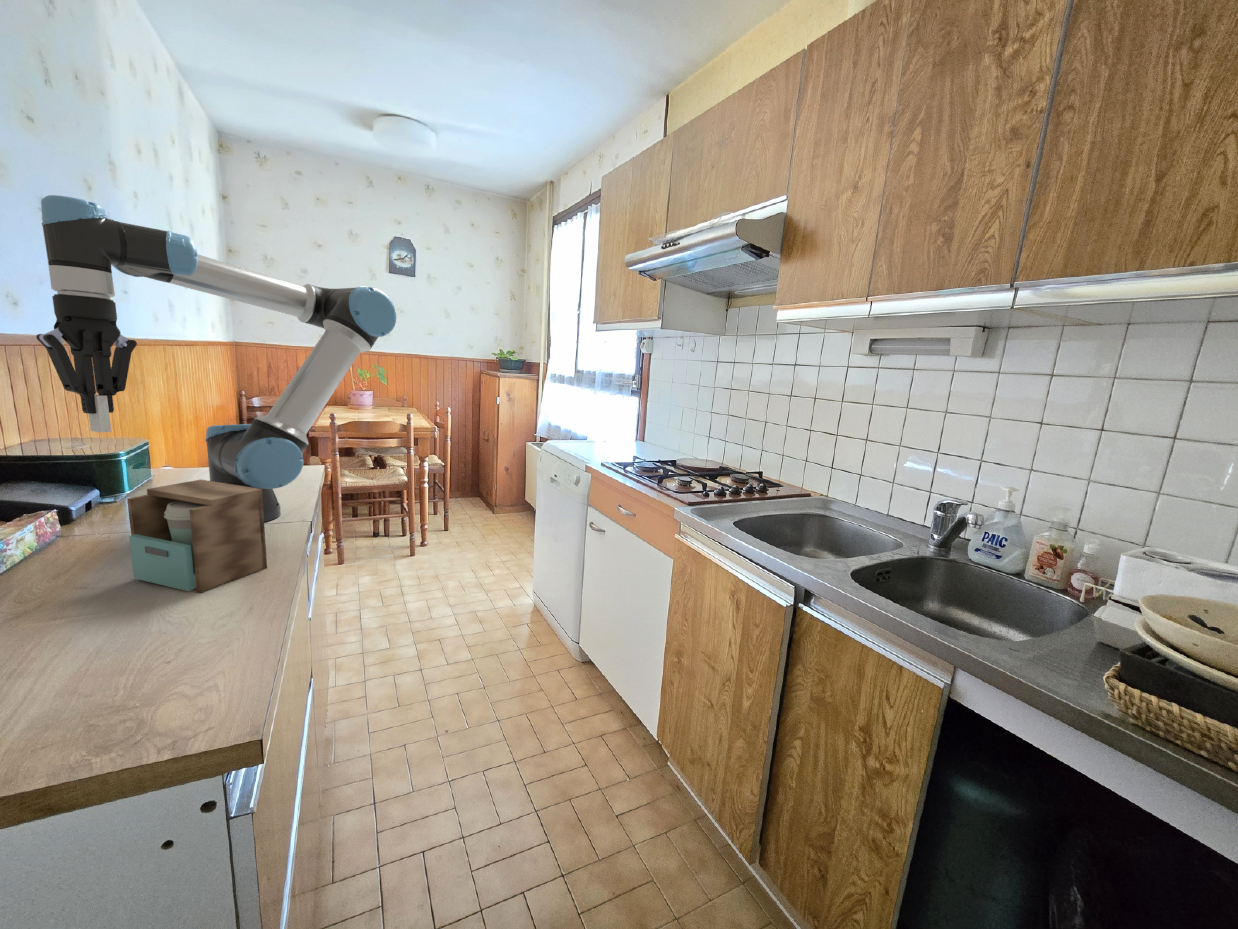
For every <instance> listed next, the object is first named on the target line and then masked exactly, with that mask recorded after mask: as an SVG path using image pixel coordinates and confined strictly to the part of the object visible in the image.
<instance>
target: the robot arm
mask: <svg viewBox="0 0 1238 929" xmlns="http://www.w3.org/2000/svg"><path fill="white" fill-rule="evenodd" d="M40 202H41V203H40V205H41V219H42V222H41V226H42V231H43V237H44V239H43V240H44V245H45V250H46V258H47V265H48V271H49V278H50V280H49V281H50V287H51V289H52V290H53V291H54V292H57V293H56V294H53V295H52V304H53V305H52V306H53V312H54V315H55V317H56V321H55V323H54V325H53V329H52V330H51V331H48V332H46V333H38V334H37V335H36V336H35V338H36V340H38V342H39V343H40V344H41V345H42V346H43V347H44V348H45V349H46V352H47V353H48V355H49V358H50V361H51V362H52V364H53V367H54V369H55V371H56V373H57V376H58V378H59V380H60V382H61V384H62V385H61V386H62V387H63V390H64V391H67V392H72V393H76V394H77V395H79V397H80V403H81V409H82V410H81V411H82V412H83V413H84V414H88V421H89V427H90V428H89V430H90V432H96V433H110V432H112V427H111V417H110V413H111V414H112V413H114V410H115V409H114V408H115V407H114V400H113V399H114V398H113V396H116V395H117V393H119V392H124V391H125V390H126V387H127V386H126V385H127V381H128V375H129V371H130V370H129V368H130V363H131V359H132V358H131V356H132V352H133V351H134V350H135V349H136V346H137V345H138V343H137V341H136V340H135V339H129V338H127V337H125V336H124V335H122V334H121V330H120V329H119V328H118V325H117V320H118V315H117V305H116V302H115V301H114V300H113V299H111V298H114V297H115V285H114V281H113V271H112V267H113V268H114V269H115V270H117V271H119V272H120V273H122V274H124V275H127V276H131V277H135V278H146V279H150V280H151V279H152V280H154V281H155V280H156V281H158V282H163V283H168V284H171V285H175V286H178V287H179V286H180V287H182V288H187V289H189V290H190V289H191V290H194V291H199V292H202V293H205V294H209V295H213V296H217V297H221V298H225V299H228V300H233V301H236V302H239V303H244V304H247V305H252V306H255V307H259V308H263V309H267V310H270V311H274V312H277V313H281V314H286V315H288V316H289V315H290V316H293V317H296V318H297V320H299V322H301V323H304V324H308V325H312V326H313V327H314V326H315V327H318V328H321V329H324V333H323V334H322V335H321V337H320V338H319V340H318V341H317V343H316V344H315V345H314V346H313V348H312V350H311V351H310V353H309V354H308V356H307V357H306V358H305V360H304V361H303V363H302V364H301V366H300V367H299V369H297V371H296V372H295V374H294V376H293V377H292V378H291V380H290V382H289V383H288V384H287V386H286V387H285V388H284V390H283V392H282V393H281V394H280V396H279V397H278V398H277V400H276V402H275V403H274V404H273V405H272V406H271V409H270V410H269V412H268V413H267V414H266V415H262V416H258V417H255V418H254V419H253V420H252V422H251V423H244V424H243V423H242V424H241V423H239V424H221V425H219V424H218V425H216V424H215V425H210V426H208V427H207V428H206V430H205V431H206V435H205V436H206V437H205V443H206V450H207V460H208V472H209V473H208V474H209V481H214V482H220V483H226V484H233V485H239V486H246V487H252V488H258V489H262V497H263V513H264V523H266V522H270V521H273V520H275V519H277V518H279V517H281V514H282V513H281V505H280V502H279V501H278V498H277V496H276V493H275V492H274V489H278V488H279V489H280V488H282V487H283V488H284V487H286V486H287V485H289V484H291V483H292V482H294V481H295V480H296V479H297V478H298V476H299V475H300V474H301V472H302V470H303V467H304V456H303V453H304V452H305V451H306V449H307V447H308V446H309V440H308V437H307V434H308V432H309V431H310V430H311V428H312V427H313V424H315V421H316V420H317V418H318V417H319V416H320V414H321V413H322V411H323V410H324V408H325V406H326V405H327V403H328V402H329V400H330V399H331V397H332V395H333V394H334V393H335V391H336V390H337V389H338V387H339V385H340V384H341V382H342V381H343V379H344V378H345V376H346V375H347V373H348V371H349V370H350V368H352V365H353V364H354V362H355V361H356V360H357V358H358V357H359V355H360V354H361V353H364V352H369V351H371V349H372V348H373V346H374V345H375V344H376V342H377V340H378V338H381V337H384V336H387V335H388V334H390V333H392V331H393V330H394V328H395V326H396V323H397V312H396V308H395V305H394V302H393V301H392V300H391V298H390V297H389V296H388V295H387V294H386V293H385V292H384V291H382V290H380V289H379V288H376V287H372V286H367V285H360V286H357V287H347V288H346V287H345V288H343V287H342V288H329V287H327V288H326V287H320V286H316V285H313V284H310V283H306V284H304V285H298V284H296V283H293V282H289V281H285V280H282V279H279V278H276V277H274V276H273V277H272V276H270V275H267V274H262V273H261V272H260V273H259V272H257V271H253V270H251V269H247V268H243V267H240V266H237V265H233V264H230V263H227V262H224V261H221V260H219V259H214V258H211V257H208V256H204V255H201V254H198V252H197V247H196V244H195V242H194V241H193V239H192V238H191V237H189V235H185V234H181V233H177V232H173V231H171V230H163V229H158V228H152V227H146V226H142V225H136V224H132V223H126V222H121V221H118V220H114V219H113V218H112V219H111V218H108V215H107V213H106V211H105V208H104V207H102V206H101V205H100V204H98V203H96V202H92V201H88V200H85V199H81V198H76V197H72V196H64V195H57V194H55V195H53V194H51V195H46V196H44V197H42V198H41V199H40ZM64 342H66V344H67V345H69V346H70V347H69V348H70V354H71V355H72V356H73V362H74V363H72V361H71V358H70V356H69V354H68V352H67V350H66V347H65V346H64V345H63V344H64ZM113 345H114V346H115V349H114V351H113V356H112V346H113ZM111 357H112V361H111ZM111 362H112V363H111ZM73 364H74V366H73Z"/></svg>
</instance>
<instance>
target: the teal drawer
mask: <svg viewBox="0 0 1238 929" xmlns="http://www.w3.org/2000/svg"><path fill="white" fill-rule="evenodd" d="M128 538H129V546H130V547H129V548H130V556H131V563H132V572H133V579H135V580H139V581H144V582H147V583H152V584H156V585H162V586H164V587H169V588H173V589H174V588H175V589H179V590H183V591H187V592H191V591H190V590H193V589H196V588H197V585H196V575H195V573H194V572H193V561H192V551H191V545H187V544H182V543H177V542H172V541H167V540H162V539H157V538H152V537H147V536H142V535H137V534H135V535H131V534H130V535H129V536H128Z"/></svg>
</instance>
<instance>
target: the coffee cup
mask: <svg viewBox="0 0 1238 929" xmlns="http://www.w3.org/2000/svg"><path fill="white" fill-rule="evenodd" d="M203 506H207V505H205V504H199V503H193V502H187V501H181V500H179V501H175V502H172V503H169V504H168V505H167V508H166V511H165V512H164V514H165V515H164V518H166V519H167V522H168V526H169V530H170V534H171V538H172V542H177V543H182V544H187V545H191V551H192V561H193V572H194V573H195V564H194V553H193V542H192V532H191V521H190V510H189V509H194V508H198V507H203Z"/></svg>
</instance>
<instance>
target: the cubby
mask: <svg viewBox="0 0 1238 929" xmlns="http://www.w3.org/2000/svg"><path fill="white" fill-rule="evenodd" d="M179 500H181V501H187V502H193V503H199V504H205V505H207V506H203V507H198V508H194V509H189V510H190V521H191V532H192V542H193V553H194V564H195V575H196V585H197V588H196V589H193V590H190V591H189V592H195V593H197V594H202V593H205V592H208V591H210V590H213V589H215V588H218V587H221V586H223V585H226V584H228V583H231V582H234V581H237V580H239V579H242V578H245V577H246V576H250V575H252V574H256V573H258V572H260V571H262V570H266V569H268V562H267V561H268V560H267V545H266V532H265V529H266V528H265V522H264V513H263V497H262V489H258V488H252V487H246V486H239V485H233V484H226V483H220V482H214V481H210V480H207V479H206V480H205V479H196V480H191V481H183V482H179V483H175V484H174V483H173V484H169V485H162V486H156V487H150V488H146V494H144V495H143V494H142V495H137V496H134V497H133V496H132V497H127V498H126V501H127V511H128V518H129V528H130V536H131V535H135V534H137V535H142V536H147V537H152V538H157V539H162V540H167V541H172V538H171V534H170V530H169V526H168V522H167V519H166V518H164V515H165V514H164V512H165V511H166V508H167V505H168V504H169V503H172V502H175V501H179Z"/></svg>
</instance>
